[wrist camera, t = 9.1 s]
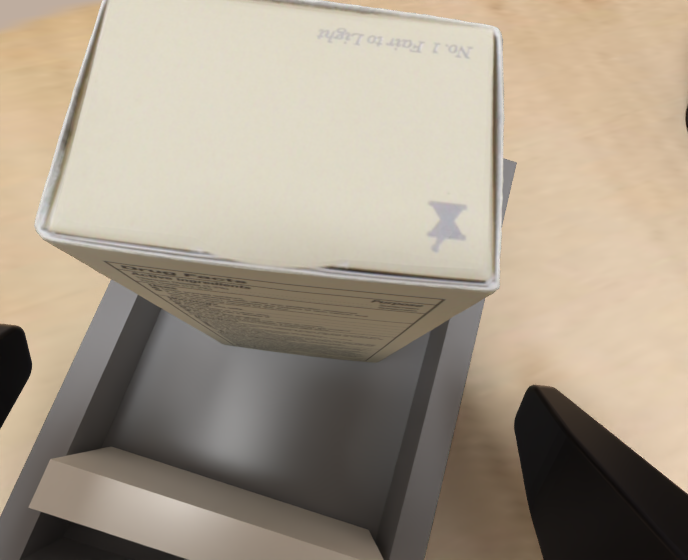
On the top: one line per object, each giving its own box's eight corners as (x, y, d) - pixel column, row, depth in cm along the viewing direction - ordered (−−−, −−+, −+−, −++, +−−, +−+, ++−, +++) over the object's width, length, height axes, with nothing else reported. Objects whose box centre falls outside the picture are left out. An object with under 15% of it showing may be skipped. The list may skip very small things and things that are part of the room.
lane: (483, 201, 21) (550, 124, 15) (368, 659, 16) (403, 799, 10) (226, 119, 21) (196, 11, 15) (36, 551, 16) (-112, 631, 10)
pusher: (368, 529, 16) (388, 568, 12) (342, 628, 15) (354, 703, 11) (111, 446, 16) (49, 459, 12) (71, 540, 15) (-7, 585, 11)
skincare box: (388, 257, 19) (522, 18, 7) (379, 369, 18) (520, 299, 6) (231, 237, 19) (105, -47, 7) (210, 350, 17) (17, 236, 6)
